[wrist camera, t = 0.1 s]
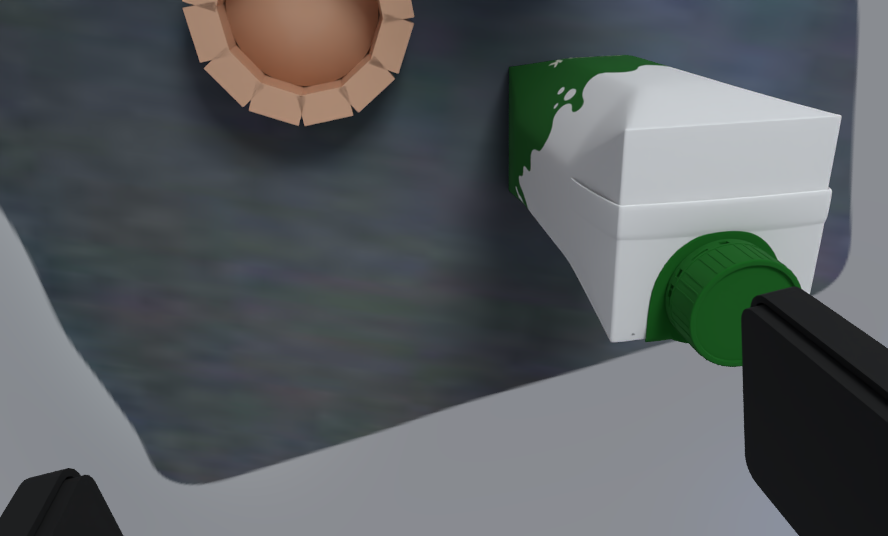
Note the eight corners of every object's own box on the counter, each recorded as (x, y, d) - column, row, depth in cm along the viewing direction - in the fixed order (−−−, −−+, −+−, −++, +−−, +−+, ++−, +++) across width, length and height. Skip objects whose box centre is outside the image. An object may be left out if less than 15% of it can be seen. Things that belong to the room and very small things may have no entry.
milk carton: (493, 206, 42) (614, 390, 24) (492, 47, 38) (633, 120, 20) (634, 195, 43) (855, 364, 25) (647, 39, 39) (914, 103, 21)
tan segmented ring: (166, -83, 34) (151, -87, 31) (381, -127, 34) (385, -134, 32) (233, 130, 38) (226, 143, 35) (423, 89, 39) (430, 98, 36)
